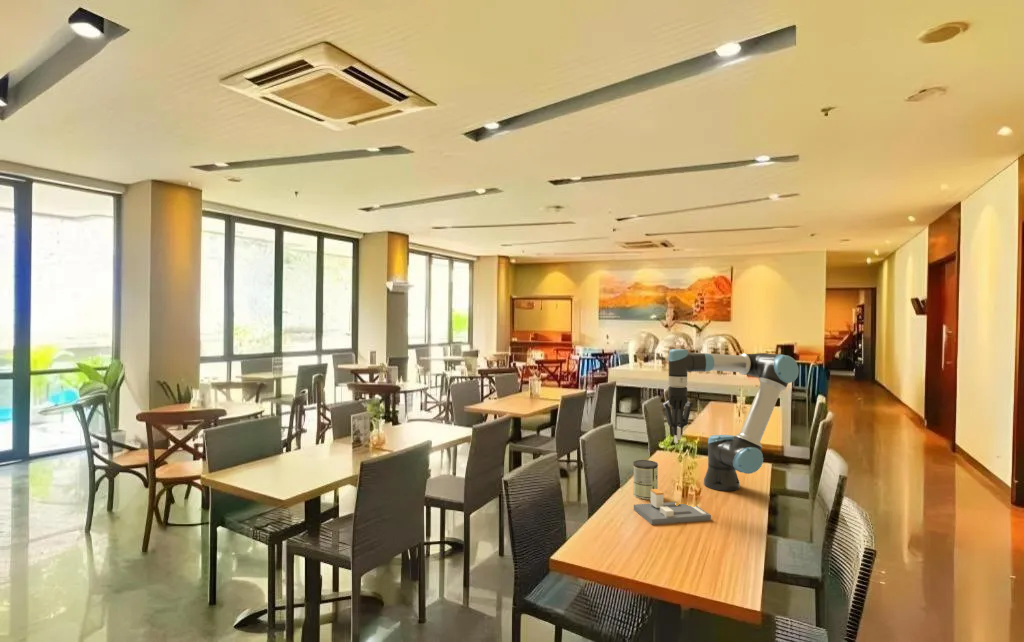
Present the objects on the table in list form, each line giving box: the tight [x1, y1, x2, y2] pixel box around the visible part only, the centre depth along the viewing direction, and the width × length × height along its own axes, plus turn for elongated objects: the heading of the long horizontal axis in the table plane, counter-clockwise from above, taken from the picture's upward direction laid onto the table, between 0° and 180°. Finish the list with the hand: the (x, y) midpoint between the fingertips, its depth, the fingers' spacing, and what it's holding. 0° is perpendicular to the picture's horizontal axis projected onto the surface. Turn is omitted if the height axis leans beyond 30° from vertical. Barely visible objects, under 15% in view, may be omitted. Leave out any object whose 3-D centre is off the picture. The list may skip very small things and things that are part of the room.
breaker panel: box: [633, 501, 712, 526], centre depth 209 cm, size 24×16×4 cm, turn 101°
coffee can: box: [632, 459, 659, 500], centre depth 232 cm, size 10×10×14 cm
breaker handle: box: [650, 488, 665, 508], centre depth 213 cm, size 3×5×6 cm, turn 11°
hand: (677, 442), depth 225 cm, fingers closed
